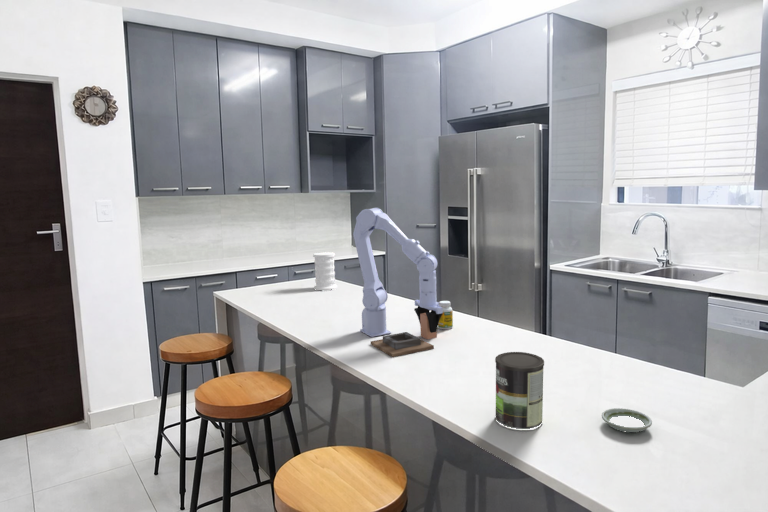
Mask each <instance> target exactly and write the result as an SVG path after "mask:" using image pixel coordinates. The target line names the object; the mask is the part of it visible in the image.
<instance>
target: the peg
mask: <svg viewBox="0 0 768 512" xmlns="http://www.w3.org/2000/svg"><path fill="white" fill-rule="evenodd" d="M419 326H420V337H421V338H423V339H425V340H431V339H436V338H437V337H438V330H437V331H436V332H433V333H431V332H430V329H429V321H428V318H427V315H426V313H422V314H420V322H419Z"/></svg>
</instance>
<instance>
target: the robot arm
mask: <svg viewBox="0 0 768 512" xmlns="http://www.w3.org/2000/svg"><path fill="white" fill-rule="evenodd" d="M355 220H356V222H355V226H354V229H353V235H352V236H353V239H354V240H353V241H354V243H355V248H356V253H357V258H358V261H359V266H360V270H361V275H362V279H363V283H364V284H363V288H362V295H363V296H362V304H363V307H364V308H363V309H362V311H361V328H360V329H359V331H360V332H362V333H363V334H365V335H367V336H368V337H370V338H373V337H378V336H379V337H380V336H383V335H384V336H386V335H392V331H389V330H388V329H387V309H386V308H387V306H386V302H387V301H388V292H387V290H385V288H384V285H383V283H382V282H381V280H380V279H379V274H378V270H377V266H376V261H375V257H374V253H373V248H372V247H373V246H372V243H371V238H370V236H371V234H372V233H373V231H374V230H375V229H376V230H382V231H384V232H386V233H387V234H388V235H389V236H390V237H392V239H394V240H395V241H396V243H398V244H399V245H400V246H401V251H402V253H403V254H404V255H406V257H407V258H408V259H409V260H411V262H412V263H413V264H414V265H416V270H417V271H418V272H419V273H418V274H419V278H418V283H419V284H418V285H419V287H418V288H419V299H414V306H416V307H415V308H413V309H414V311H415V313H416V316H417V319H418V323H420V314H422V313H426V315H427V318H428V321H429V329H430V332H431V333H433V332H436V331H437V332H438V323H439V320H440V318H441V316H442V315H443V308H442V307H440V305H439V302H440V301H437V300H438V299H437V273H436V272H437V270H436V269H437V267H438V265H439V264H438V259H437V258H436V256H435V255H434V254H430V251H429V250H425V248H424V247H422V246H421V245H420V244H421V242H420V240H419V239H417V240H415V239H414V238H408V237H407V235H406V234H404V232H403V231H402V230H401V229H400V228H399V227H398V225H397V224H396V223H395V222H394V221H393V220H392V219H391V218H390V217H389V215H388V214H387V213H386V212H383V210H382V209H381V208H380V207H372V208H365V209H362V210H361V211H360V212H359V213H358V215H356V217H355Z"/></svg>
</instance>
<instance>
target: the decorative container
mask: <svg viewBox="0 0 768 512" xmlns="http://www.w3.org/2000/svg"><path fill="white" fill-rule="evenodd" d="M312 257H313V258H314V261H313V263H314V270H315V273H314V276H315V280H314V281H315V285H314V286H313V290H314V289H316V290H315V291H317V290H330V291H332V290H331V289H335V288H337V289H338V284H336V277H335V275H336V271H335V268H336V267H335V259H334V257H336V253H335V252H332V251H326V252H325V251H322V252H314V253H313V255H312ZM335 290H336V289H335Z"/></svg>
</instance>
